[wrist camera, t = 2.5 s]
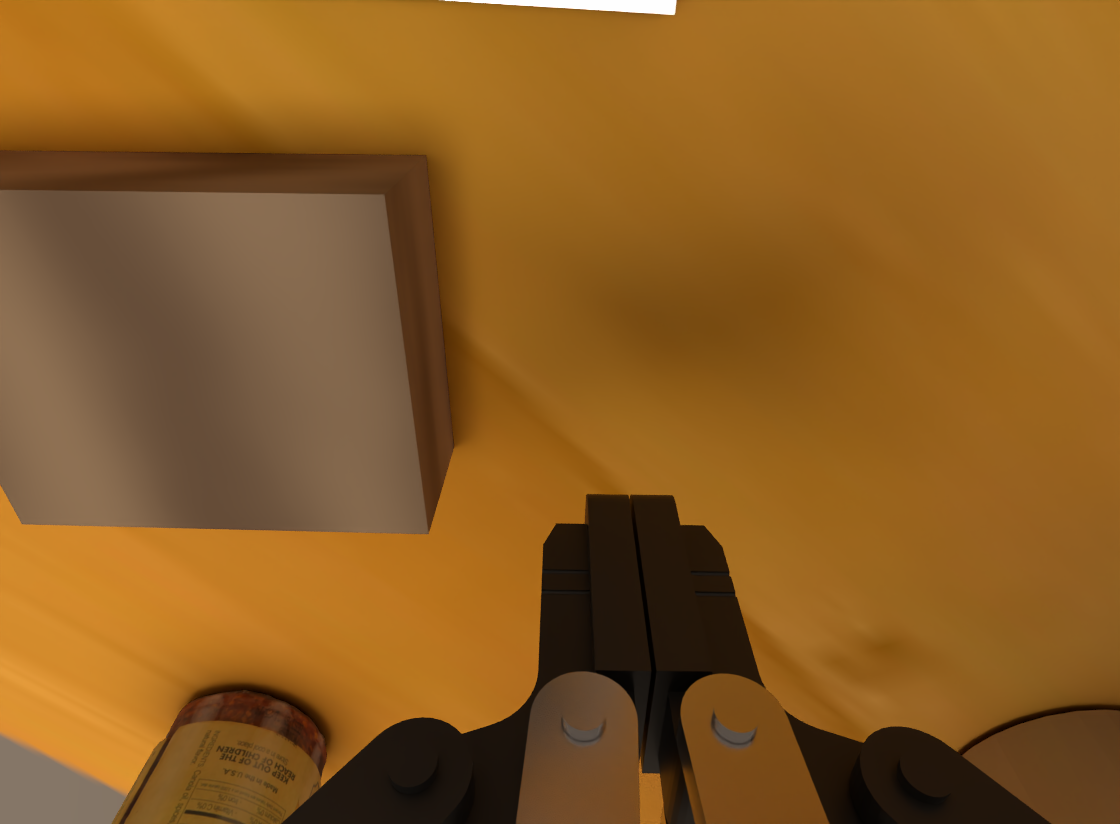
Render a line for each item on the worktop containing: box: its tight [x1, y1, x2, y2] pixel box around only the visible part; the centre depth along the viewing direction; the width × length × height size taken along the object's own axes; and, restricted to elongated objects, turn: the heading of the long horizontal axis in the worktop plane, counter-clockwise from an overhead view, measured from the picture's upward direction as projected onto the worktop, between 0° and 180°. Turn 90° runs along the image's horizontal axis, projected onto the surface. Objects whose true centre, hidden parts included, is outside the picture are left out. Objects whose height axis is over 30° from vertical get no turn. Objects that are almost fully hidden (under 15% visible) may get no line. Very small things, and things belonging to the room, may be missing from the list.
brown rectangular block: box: [0, 151, 454, 534], centre depth 16 cm, size 10×8×4 cm
